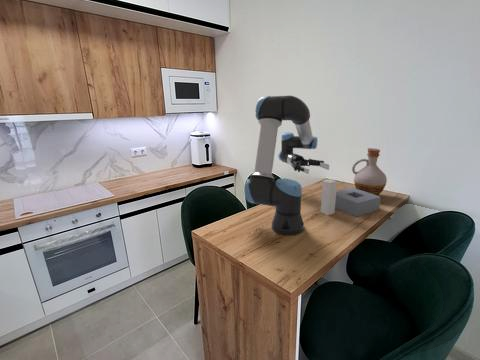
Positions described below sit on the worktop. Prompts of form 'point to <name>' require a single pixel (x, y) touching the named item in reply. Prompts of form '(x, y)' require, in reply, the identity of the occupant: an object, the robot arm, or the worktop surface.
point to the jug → (370, 174)
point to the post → (328, 196)
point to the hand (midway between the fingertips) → (318, 169)
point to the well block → (356, 201)
